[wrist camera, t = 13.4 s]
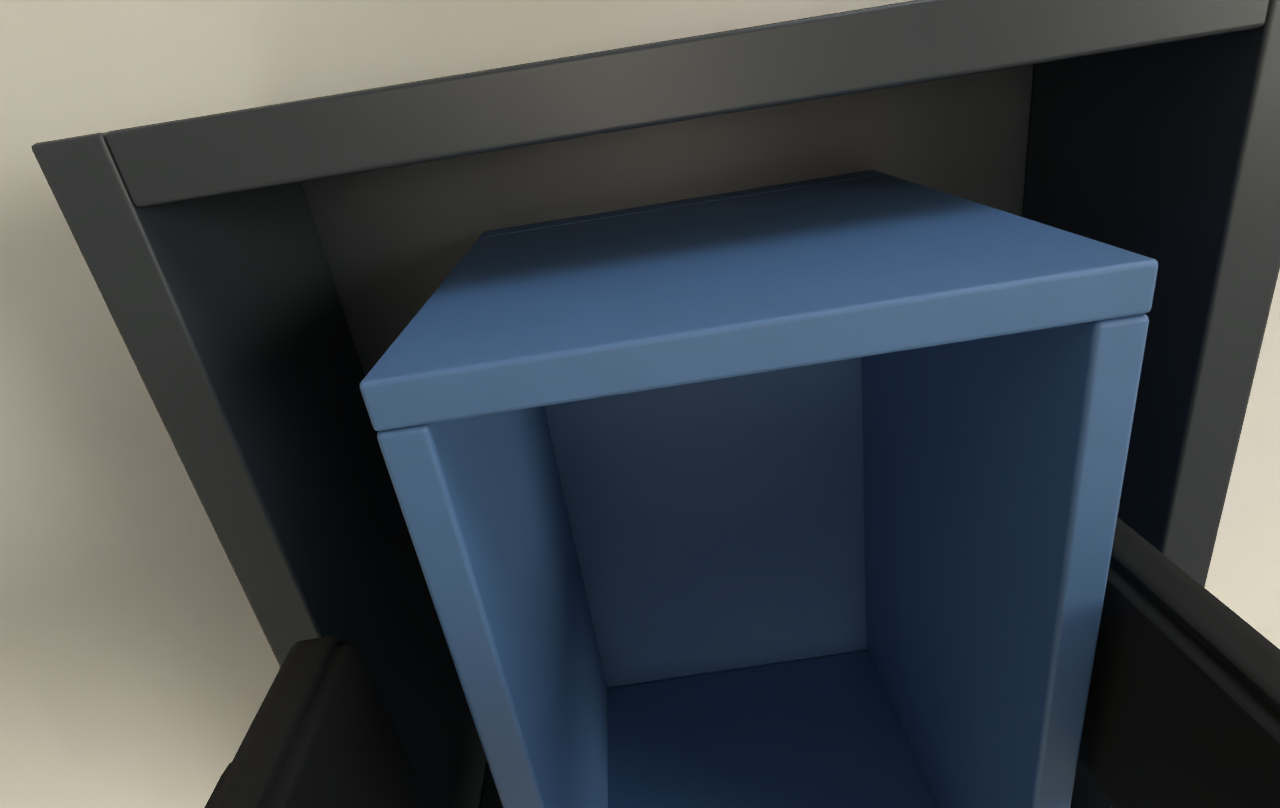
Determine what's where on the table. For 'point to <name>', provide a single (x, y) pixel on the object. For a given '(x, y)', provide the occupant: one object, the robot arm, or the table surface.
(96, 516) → the table surface
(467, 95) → the box
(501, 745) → the blue bin
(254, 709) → the table surface
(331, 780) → the robot arm
